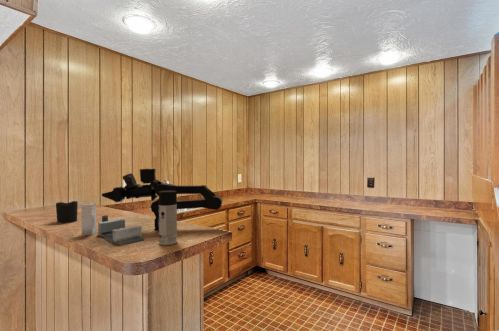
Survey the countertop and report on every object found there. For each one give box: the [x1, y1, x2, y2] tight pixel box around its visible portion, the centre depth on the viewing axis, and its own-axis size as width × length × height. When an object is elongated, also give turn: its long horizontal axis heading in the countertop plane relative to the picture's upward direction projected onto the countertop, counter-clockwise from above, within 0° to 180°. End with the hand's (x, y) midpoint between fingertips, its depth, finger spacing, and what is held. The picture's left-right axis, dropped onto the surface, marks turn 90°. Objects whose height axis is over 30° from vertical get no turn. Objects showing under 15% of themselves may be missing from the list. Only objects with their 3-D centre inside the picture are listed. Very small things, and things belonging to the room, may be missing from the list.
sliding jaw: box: [97, 214, 126, 233], centre depth 119 cm, size 11×10×5 cm
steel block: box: [80, 202, 97, 236], centre depth 115 cm, size 4×5×13 cm
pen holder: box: [55, 200, 79, 224], centre depth 140 cm, size 9×9×10 cm
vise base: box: [97, 224, 145, 247], centre depth 110 cm, size 22×10×5 cm, turn 47°
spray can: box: [158, 190, 178, 247], centre depth 102 cm, size 7×7×20 cm
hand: (106, 193), depth 122 cm, fingers open, 9 cm apart
